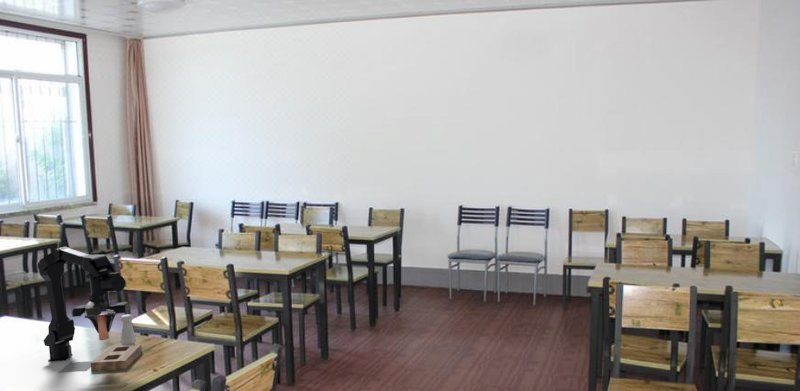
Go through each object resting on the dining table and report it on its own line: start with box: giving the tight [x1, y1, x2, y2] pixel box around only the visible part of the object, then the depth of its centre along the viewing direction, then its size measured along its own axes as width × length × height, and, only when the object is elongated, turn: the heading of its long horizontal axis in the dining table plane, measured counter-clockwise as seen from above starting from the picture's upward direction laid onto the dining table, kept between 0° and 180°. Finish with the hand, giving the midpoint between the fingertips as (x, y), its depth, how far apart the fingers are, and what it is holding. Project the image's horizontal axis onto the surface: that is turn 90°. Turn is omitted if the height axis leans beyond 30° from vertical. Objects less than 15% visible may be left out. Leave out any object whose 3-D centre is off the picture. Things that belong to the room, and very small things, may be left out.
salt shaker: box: [119, 313, 137, 345], centre depth 248 cm, size 6×6×13 cm
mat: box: [57, 360, 93, 373], centre depth 227 cm, size 10×10×1 cm
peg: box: [97, 313, 110, 341], centre depth 225 cm, size 3×3×9 cm
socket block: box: [90, 343, 143, 372], centre depth 231 cm, size 12×18×4 cm, turn 5°
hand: (103, 332), depth 225 cm, fingers closed on peg, 3 cm apart
